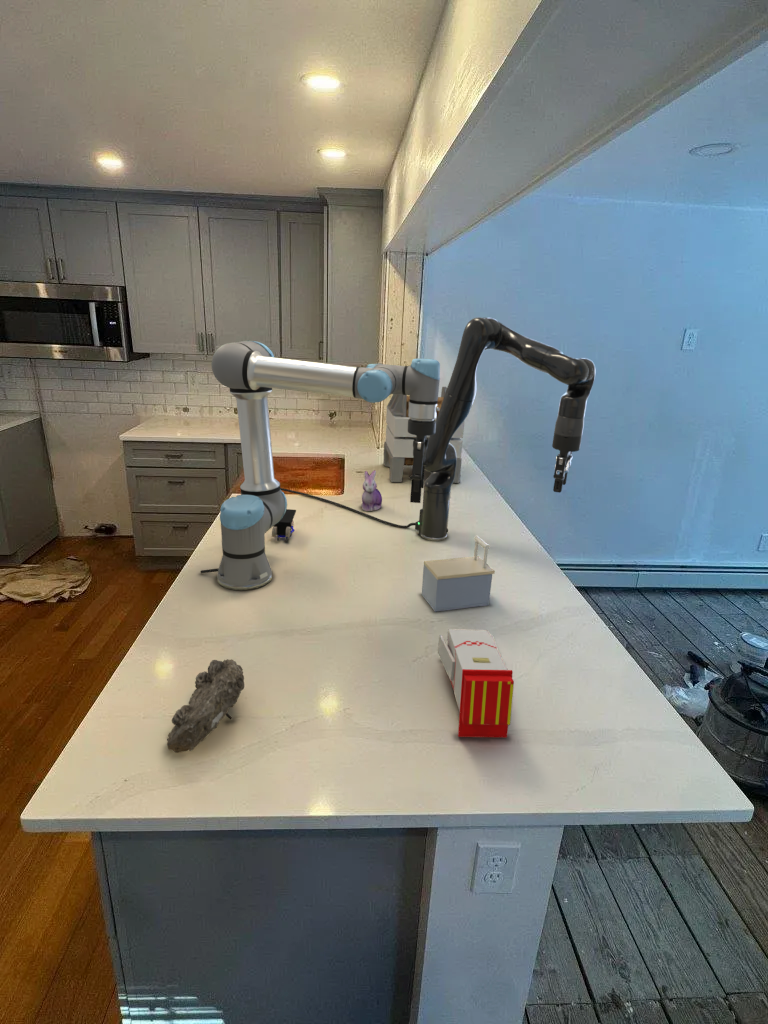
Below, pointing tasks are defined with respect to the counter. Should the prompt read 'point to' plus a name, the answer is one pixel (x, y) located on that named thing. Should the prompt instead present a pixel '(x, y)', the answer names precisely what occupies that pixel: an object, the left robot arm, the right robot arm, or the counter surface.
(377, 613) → the counter surface
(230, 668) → the fossil
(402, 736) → the counter surface
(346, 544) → the counter surface
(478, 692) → the toy
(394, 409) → the grey crate
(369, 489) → the figurine
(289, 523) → the black wheeled block
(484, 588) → the chest
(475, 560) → the lid
